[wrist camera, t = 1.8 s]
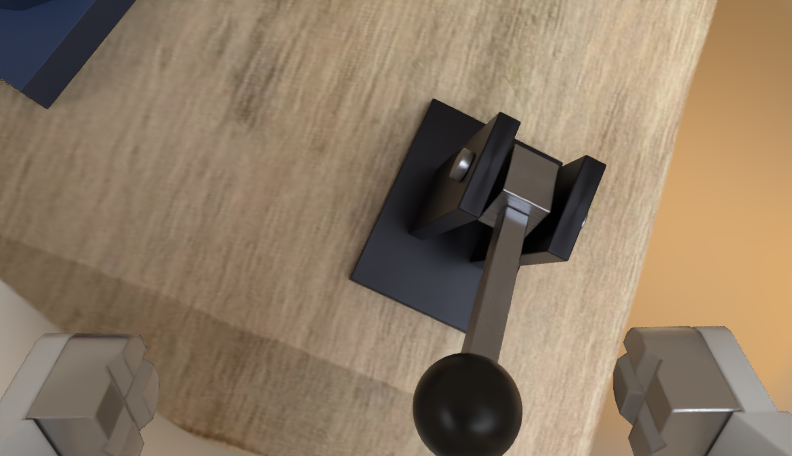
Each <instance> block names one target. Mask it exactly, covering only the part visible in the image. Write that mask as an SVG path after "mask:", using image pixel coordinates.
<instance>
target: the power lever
mask: <svg viewBox="0 0 792 456" xmlns="http://www.w3.org/2000/svg"><path fill="white" fill-rule="evenodd" d="M558 169H559V166H558V165H557V164H555V163H553V162H551V161H549V160H547V159H545V158H543V157H541V156H539V155H537V154H535V153H533V152H531V151H529V150H527V149H525V148H523V147H521V146H519V145H517V144H515V145H514V146H513V147H512V148H511V150H510V151H509V152H508V154H507V156H506V158H505V161H504V163H503V165H502V168H501V170H500V172H499V175H498V177H497V179H496V182H495V184H494V186H493V188H492V191H491V193H490V195H489V198H488V200H487V202H486V205H485V207H484V209H483V211H482V214H481V216H480V218H479V219H478V220H479V221H481V222H483V223H485V224H487V225H489V226H491V227H493V232H492V236H491V240H490V244H489V247H488V251H487V255H486V259H485V263H484V267H483V270H482V274H481V278H480V282H479V286H478V290H477V293H476V297H475V301H474V305H473V309H472V312H471V316H470V320H469V324H468V328H467V332H466V335H465V339H464V343H463V347H462V351H461V353H457V354H452V355H449V356H446V357H444V358H442V359H440V360H438V361H437V362H435V363H434V364H433V365H431V366H430V367H429V368H428V369H427V370H426V372H425V373H424V374H423V376H422V377H421V379H420V381H419V382H418V385H417V387H416V390H415V393H414V397H413V418H414V423H415V426H416V429H417V431H418V434H419V436H420V437H421V439H422V441H423V442H424V444H425V445H426V446H427V447H428V448H429V450H430V451H432V452H433V453H434V454H435V455H436V456H502V455H503V454H504V453H505V452H506V451H507V450H508V449H509V448H510V447H511V445H512V444H513V443H514V441H515V439H516V437H517V435H518V433H519V430H520V427H521V422H522V401H521V397H520V394H519V391H518V388H517V386H516V384H515V382H514V380H513V379H512V377H511V376H510V375H509V373H508V372H507V371H506V370H505V369H504V368H503V367H502V366H500V365H499V364H498V359H499V354H500V350H501V345H502V340H503V336H504V331H505V326H506V322H507V317H508V313H509V308H510V303H511V299H512V294H513V290H514V285H515V280H516V276H517V271H518V266H519V262H520V257H521V253H522V248H523V243H524V239H525V237H526V236H527V235H528V234H529V233H530V232H531V231H532V230H533V229H534V228H535V227H536V226H537V225H538V224H539V223H540V222H541V221H542V220H543V219H544V218H545V217H546V216H547V215H548V214H549V213H550V212H551V206H552V201H553V196H554V191H555V185H556V180H557V175H558Z"/></svg>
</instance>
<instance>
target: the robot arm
mask: <svg viewBox="0 0 792 456" xmlns="http://www.w3.org/2000/svg"><path fill="white" fill-rule="evenodd" d="M623 343H624V345H625V348H626V351H627V353H626V354H624V355H623V356H622V357H620V358H619V359H617V362H616V365H615V369H614V372H613V390H614V395H615V401H616V404H617V407H618V410H619V413H620V414H621V415H622V416H623V417H624V418H625V419H626V420H627V421H628V422H629V423H631V424H632V425H633V428H632V430H631V432H630V435H629V437H628V439H629V442H630V445H631V448H632V451H633V454H634V456H792V414H791V413H790V412H788V411H778V410H777V408H776V406H775V405H774V403H773V401H772V400H771V398H770V396H769V395H768V393H767V391H766V389H765V388H764V386H763V384H762V383H761V381H760V379H759V378H758V376H757V374H756V373H755V371H754V369H753V368H752V366H751V364H750V363H749V361H748V359H747V357H746V356H745V354H744V352H743V351H742V349H741V347H740V346H739V344H738V342H737V340H736V339H735V337H734V335H733V334H732V332H731V331H730V330H729V329H728V328H726V327H725V326H715V327H714V326H710V327H709V326H708V327H690V326H679V327H638V328H631V329H630V330H629V331H628V332H627V334H626V337H625V339H624V342H623ZM146 350H147V346H146V344H145V342H144V340H143V338H142V336H141V335H138V334H91V333H56V334H55V333H46V334H44V335H43V336H42V337H41V338H39V339H38V340H37V341H36V342H35V344H34V345H33V347H32V349H31V350H30V352H29V354H28V355H27V357H26V359H25V360H24V362H23V363H22V365H21V367H20V368H19V370H18V372H17V374H16V375H15V377H14V378H13V380H12V382H11V383H10V385H9V387H8V389H7V390H6V392H5V393H4V395H3V397H2V398H1V400H0V456H140V453H141V451H142V448H143V445H144V442H143V439H142V437H141V434H140V432H139V431H140V430H141V429H142V428H143V427H145V426H146V425H147V424H148V423H149V422H150V421H151V420H152V419H153V417H154V414H155V411H156V408H157V405H158V399H159V390H160V383H159V376H158V372H157V370H156V367H155V365H154V364H153V363H151V362H150V361H148V360H147V359H145V358H144V355H145V352H146Z"/></svg>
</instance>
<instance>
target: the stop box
mask: <svg viewBox="0 0 792 456" xmlns="http://www.w3.org/2000/svg"><path fill="white" fill-rule="evenodd" d="M134 2H135V0H0V79H2V80H3V81H5V82H7V83H8V84H10V85H11V86H13V87H14V88H16V89H17V90H19V91H20V92H22V93H23V94H25V95H26V96H28V97H29V98H31V99H32V100H34V101H35V102H37V103H38V104H40V105H41V106H43V107H44V108H46V109H48V108H49V107H50V106H51V104H52V103H53V102H54V101H55V100H56V98H57V97H58V96H59V95H60V93H61V92H62V91H63V90H64V88H65V87H66V86H67V85H68V83H69V82H70V81H71V80H72V78H73V77H74V76H75V75H76V73H77V72H78V71H79V70H80V69H81V67H82V66H83V65H84V64H85V62H86V61H87V60H88V59H89V57H90V56H91V55H92V54H93V52H94V51H95V50H96V49H97V47H98V46H99V45H100V44H101V43H102V41H103V40H104V39H105V38H106V36H107V35H108V34H109V33H110V31H111V30H112V29H113V28H114V26H115V25H116V24H117V23H118V21H119V20H120V19H121V18H122V16H123V15H124V14H125V13H126V12H127V10H128V9H129V8H130V7H131V5H132V4H133V3H134Z"/></svg>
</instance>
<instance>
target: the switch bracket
mask: <svg viewBox="0 0 792 456" xmlns="http://www.w3.org/2000/svg"><path fill="white" fill-rule="evenodd" d="M520 124H521V122H520V121H518V120H516V119H514V118H512V117H510V116H508V115H506V114H504V113H502V112H499V113H498V114H497V115H496V116H495V117H494V118H493V119H492V120H490V121H489V122H488V123H487V124H484V123H482V122H480V121H478V120H476V119H474V118H472V117H470V116H468V115H466V114H464V113H462V112H460V111H458V110H456V109H454V108H452V107H450V106H448V105H446V104H444V103H442V102H440V101H438V100H436V99H434V98H433V99H432V101H431V102H430V104H429V106H428V108H427V110H426V112H425V114H424V116H423V118H422V121H421V123H420V125H419V127H418V129H417V131H416V134H415V136H414V138H413V140H412V142H411V144H410V147H409V149H408V151H407V153H406V155H405V157H404V159H403V162H402V164H401V166H400V168H399V170H398V172H397V175H396V177H395V179H394V181H393V183H392V185H391V188H390V190H389V192H388V194H387V196H386V198H385V200H384V203H383V205H382V207H381V209H380V211H379V213H378V216H377V218H376V220H375V222H374V224H373V226H372V229H371V231H370V233H369V235H368V237H367V239H366V241H365V244H364V246H363V248H362V250H361V252H360V254H359V257H358V259H357V261H356V263H355V265H354V267H353V269H352V272H351V274H350V276H349V280H351V281H353V282H355V283H357V284H359V285H362V286H364V287H366V288H368V289H370V290H372V291H375V292H377V293H379V294H381V295H383V296H385V297H388V298H390V299H392V300H394V301H396V302H398V303H401V304H403V305H405V306H407V307H409V308H411V309H414V310H416V311H418V312H420V313H422V314H424V315H427V316H429V317H431V318H433V319H435V320H437V321H440V322H442V323H444V324H446V325H448V326H450V327H453V328H455V329H457V330H459V331H461V332H463V333H466V332H467V328H468V324H469V320H470V316H471V312H472V309H473V305H474V301H475V297H476V293H477V290H478V286H479V282H480V278H481V274H482V270H483V267H484V263H485V259H486V255H487V251H488V247H489V244H490V240H491V236H492V232H493V227H491V226H489V225H487V224H485V223H483V222H481V221H479V220H478V219H479V218H480V216H481V214H482V211H483V209H484V207H485V205H486V202H487V200H488V198H489V195H490V193H491V191H492V188H493V186H494V184H495V182H496V179H497V177H498V175H499V172H500V170H501V168H502V165H503V163H504V161H505V158H506V156H507V154H508V152H509V151H510V150H511V148H512V147H513V146H514V145H515V144H517V145H519V146H521V147H523V148H525V149H527V150H529V151H531V152H533V153H535V154H537V155H539V156H541V157H543V158H545V159H547V160H549V161H551V162H553V163H555V164H557V165H558V166H559V169H558V175H557V180H556V185H555V191H554V196H553V201H552V206H551V212H550V213H549V214H548V215H547V216H546V217H545V218H544V219H543V220H542V221H541V222H540V223H539V224H538V225H537V226H536V227H535V228H534V229H533V230H532V231H531V232H530V233H529V234H528V235H527V236H526V237H525V239H524V243H523V248H522V253H521V257H520V262H519V266H518V270H519V268H520V266H523V265H533V264H544V263H554V262H564V261H568V260H569V257H570V255H571V252H572V250H573V247H574V245H575V242H576V240H577V237H578V235H579V232H580V230H581V229H582V227H583V226H584V224H585V222H586V219H587V215H588V210H589V208H590V205H591V203H592V200H593V198H594V195H595V193H596V190H597V188H598V185H599V183H600V180H601V178H602V175H603V173H604V171H605V168H606V164H604V163H602V162H600V161H598V160H596V159H594V158H592V157H590V156H588V155H585V156H583V157H581V158H579V159H577V160H575V161H573V162H570V163H568V164H566V165H564V166H562V165H563V163H562V162H561V161H559V160H557V159H555V158H553V157H551V156H549V155H547V154H545V153H542V152H540V151H538V150H536V149H534V148H532V147H530V146H528V145H526V144H524V143H522V142H520V141H518V140H516V139H514V138H515V135H516V133H517V131H518V129H519V126H520ZM517 273H518V271H517Z"/></svg>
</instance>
